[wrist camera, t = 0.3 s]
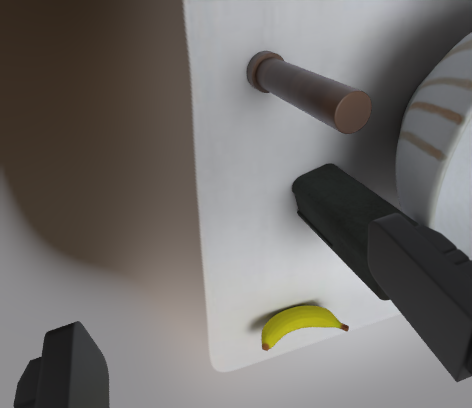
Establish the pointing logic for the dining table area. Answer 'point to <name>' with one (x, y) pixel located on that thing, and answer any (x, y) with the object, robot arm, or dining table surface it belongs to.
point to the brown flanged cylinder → (310, 92)
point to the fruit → (297, 323)
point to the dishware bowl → (440, 149)
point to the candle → (342, 216)
